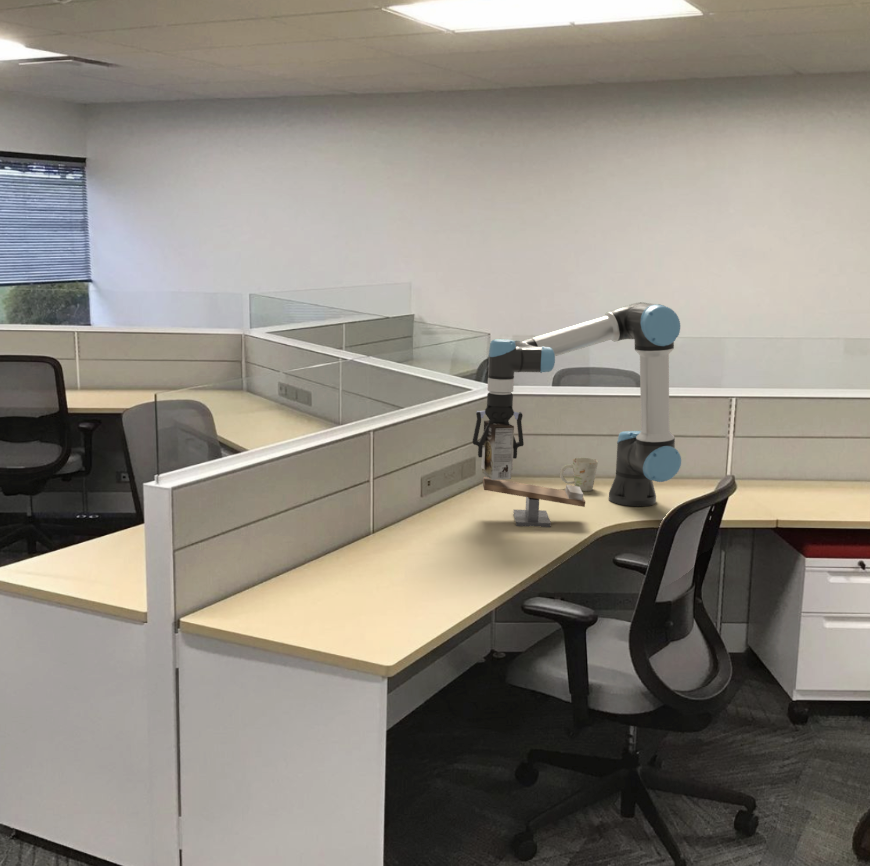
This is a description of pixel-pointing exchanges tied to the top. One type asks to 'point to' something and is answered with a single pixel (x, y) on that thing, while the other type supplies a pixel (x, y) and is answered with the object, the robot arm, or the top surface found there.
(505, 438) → the coffee box
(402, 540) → the top surface
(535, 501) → the pivot stand
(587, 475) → the mug
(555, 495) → the beam
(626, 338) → the robot arm
